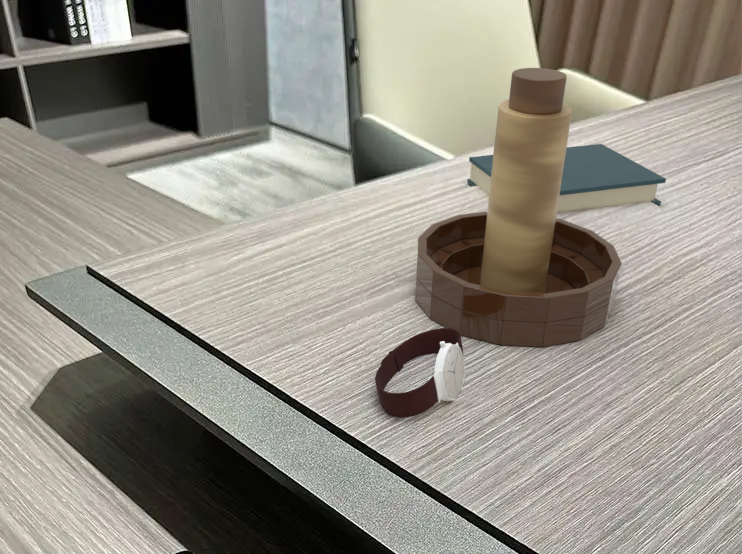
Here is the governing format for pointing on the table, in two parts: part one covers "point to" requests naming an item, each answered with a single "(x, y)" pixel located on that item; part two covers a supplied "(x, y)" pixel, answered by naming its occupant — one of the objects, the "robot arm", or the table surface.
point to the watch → (439, 387)
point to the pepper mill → (526, 181)
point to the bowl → (516, 309)
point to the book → (589, 178)
